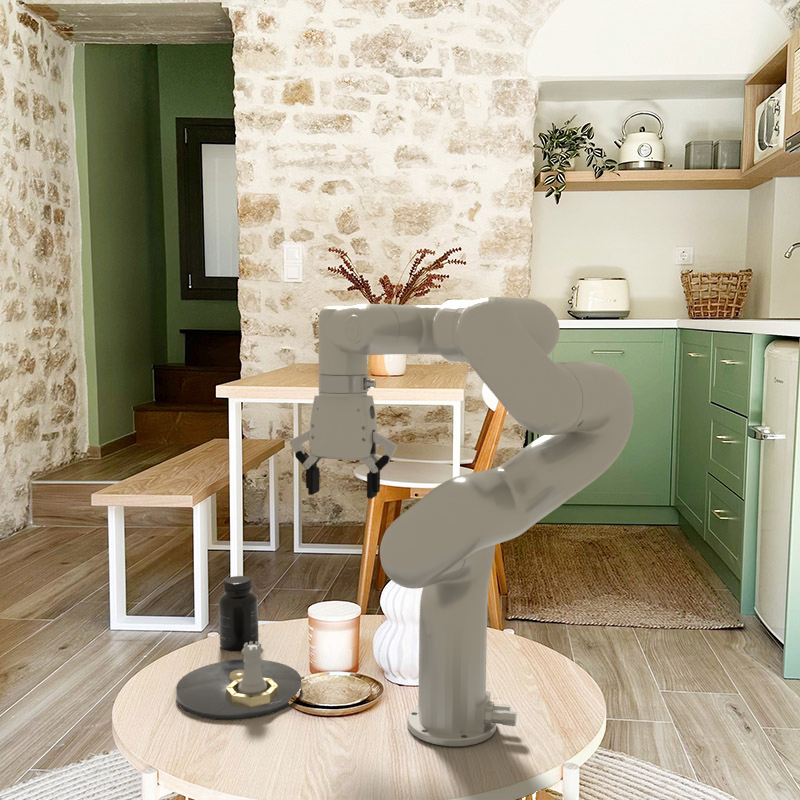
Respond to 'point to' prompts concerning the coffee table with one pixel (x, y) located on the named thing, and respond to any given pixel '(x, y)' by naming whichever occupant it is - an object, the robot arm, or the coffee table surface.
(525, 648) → the coffee table surface
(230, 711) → the carrier plate
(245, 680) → the rook chess piece
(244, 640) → the supplement bottle
